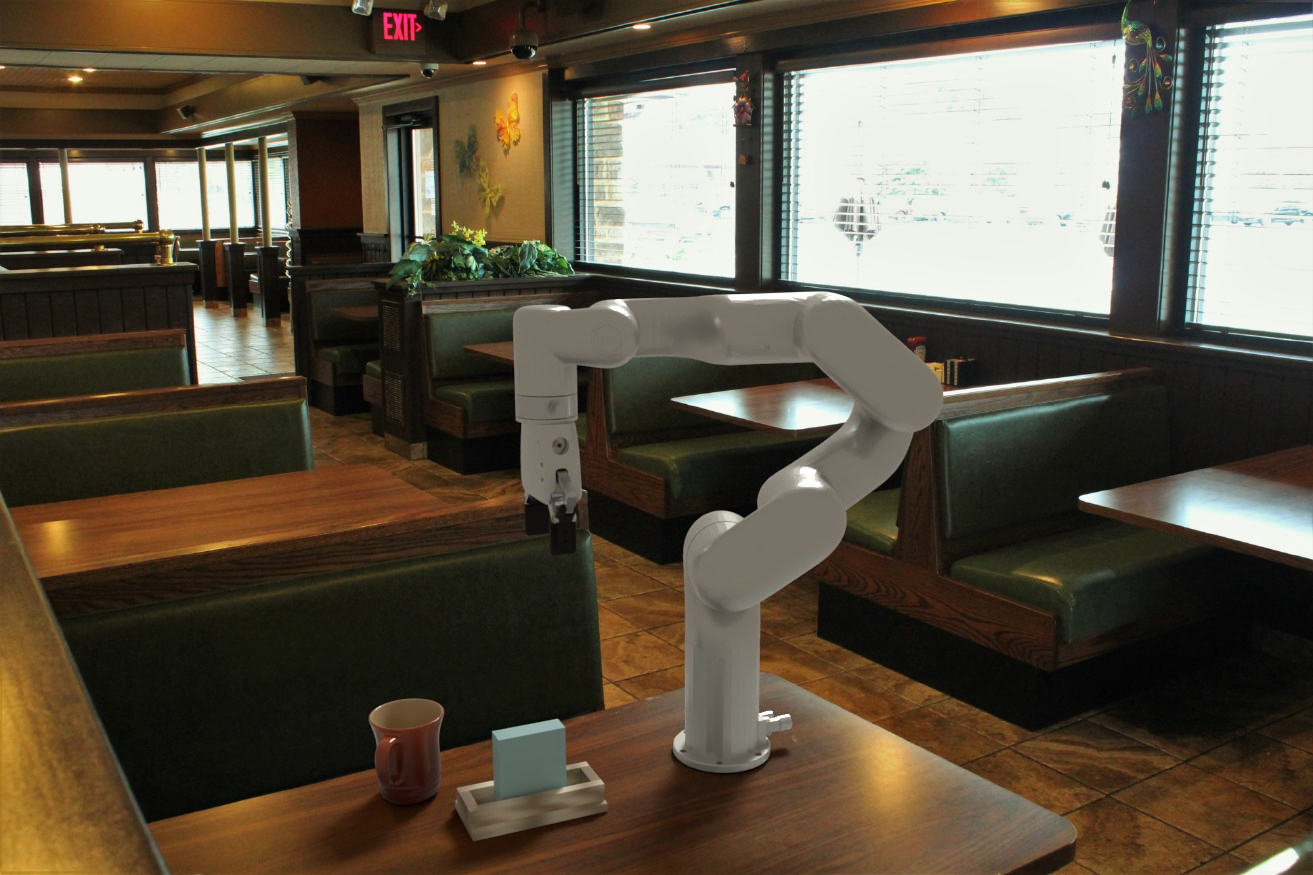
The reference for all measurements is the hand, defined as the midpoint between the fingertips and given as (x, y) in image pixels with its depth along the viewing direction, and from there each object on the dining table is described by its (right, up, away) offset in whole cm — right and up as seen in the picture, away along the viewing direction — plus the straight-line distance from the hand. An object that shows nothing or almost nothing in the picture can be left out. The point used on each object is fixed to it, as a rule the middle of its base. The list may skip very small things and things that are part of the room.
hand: (549, 543), depth 141 cm
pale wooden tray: (-1, -30, -8) cm, 31 cm away
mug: (-17, -30, -6) cm, 35 cm away
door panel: (-1, -29, -8) cm, 31 cm away
